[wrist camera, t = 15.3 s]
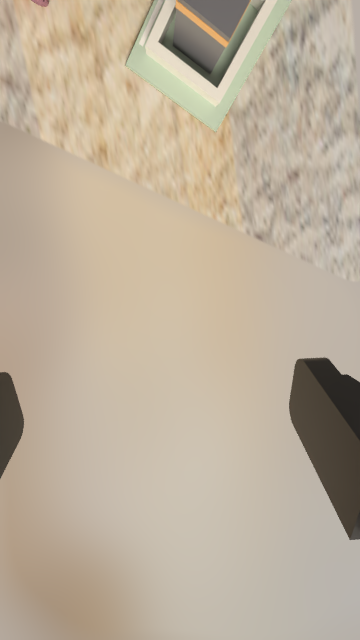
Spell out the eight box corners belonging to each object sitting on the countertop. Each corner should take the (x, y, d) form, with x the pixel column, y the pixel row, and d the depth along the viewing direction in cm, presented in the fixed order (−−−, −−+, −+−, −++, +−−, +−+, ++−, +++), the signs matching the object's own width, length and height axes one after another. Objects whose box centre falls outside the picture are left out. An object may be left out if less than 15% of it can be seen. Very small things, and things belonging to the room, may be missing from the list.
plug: (172, 45, 29) (176, -5, 20) (202, -20, 28) (222, -107, 19) (210, 75, 30) (230, 40, 21) (242, 13, 29) (279, -53, 20)
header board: (125, 66, 30) (122, 57, 28) (196, -92, 26) (200, -121, 23) (215, 132, 33) (219, 129, 30) (292, -2, 29) (305, -19, 26)
